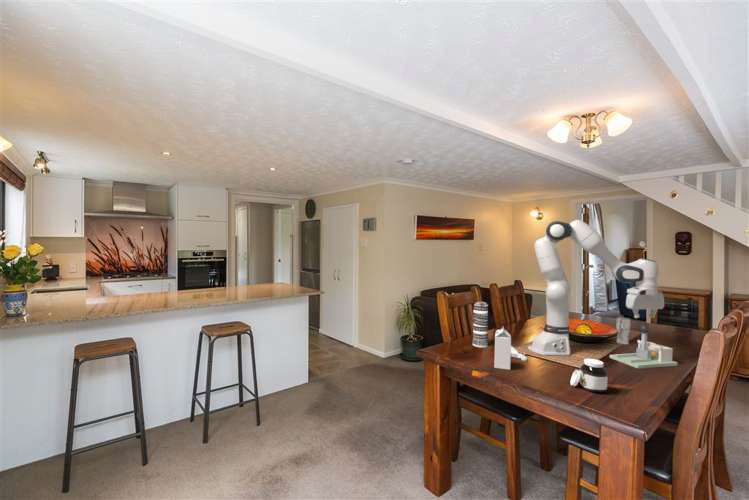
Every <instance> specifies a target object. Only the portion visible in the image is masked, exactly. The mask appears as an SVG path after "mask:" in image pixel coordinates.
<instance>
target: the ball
mask: <svg viewBox="0 0 749 500" xmlns="http://www.w3.org/2000/svg"><path fill="white" fill-rule="evenodd" d="M649 351H652V352H651V358H655V357H656V352H655V351H653V350H649Z"/></svg>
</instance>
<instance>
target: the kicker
mask: <svg viewBox="0 0 749 500" xmlns="http://www.w3.org/2000/svg"><path fill="white" fill-rule="evenodd" d="M649 331H650V326H649V325H647V324H640V333H641V348H638V347H636V351H635V353H636V356H637V357H640V358H642V359H651V352H652V351H649V350H647V342H648V334H649V333H650V332H649Z"/></svg>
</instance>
